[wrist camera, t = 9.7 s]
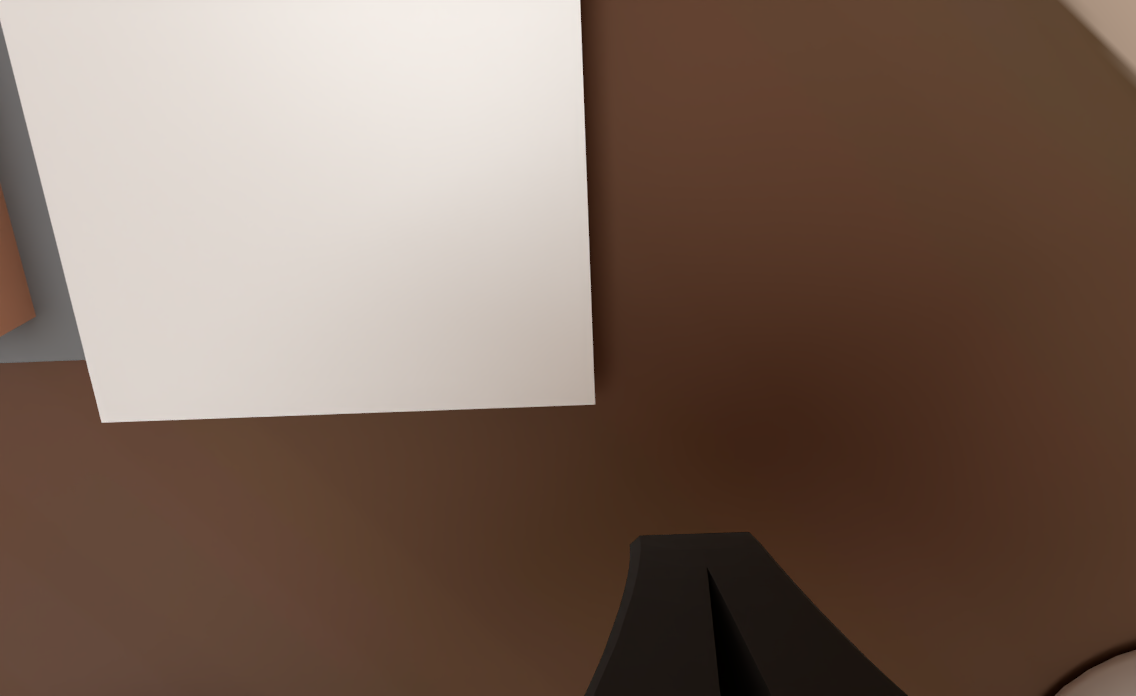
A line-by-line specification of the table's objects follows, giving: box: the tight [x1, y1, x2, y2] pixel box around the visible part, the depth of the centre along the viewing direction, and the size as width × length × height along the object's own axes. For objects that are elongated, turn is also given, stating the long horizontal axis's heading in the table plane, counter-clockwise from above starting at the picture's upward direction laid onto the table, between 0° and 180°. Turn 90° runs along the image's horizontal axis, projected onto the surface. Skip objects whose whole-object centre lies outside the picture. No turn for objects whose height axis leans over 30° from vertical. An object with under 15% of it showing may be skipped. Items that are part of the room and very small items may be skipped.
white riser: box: [0, 0, 595, 423], centre depth 17 cm, size 10×10×2 cm
